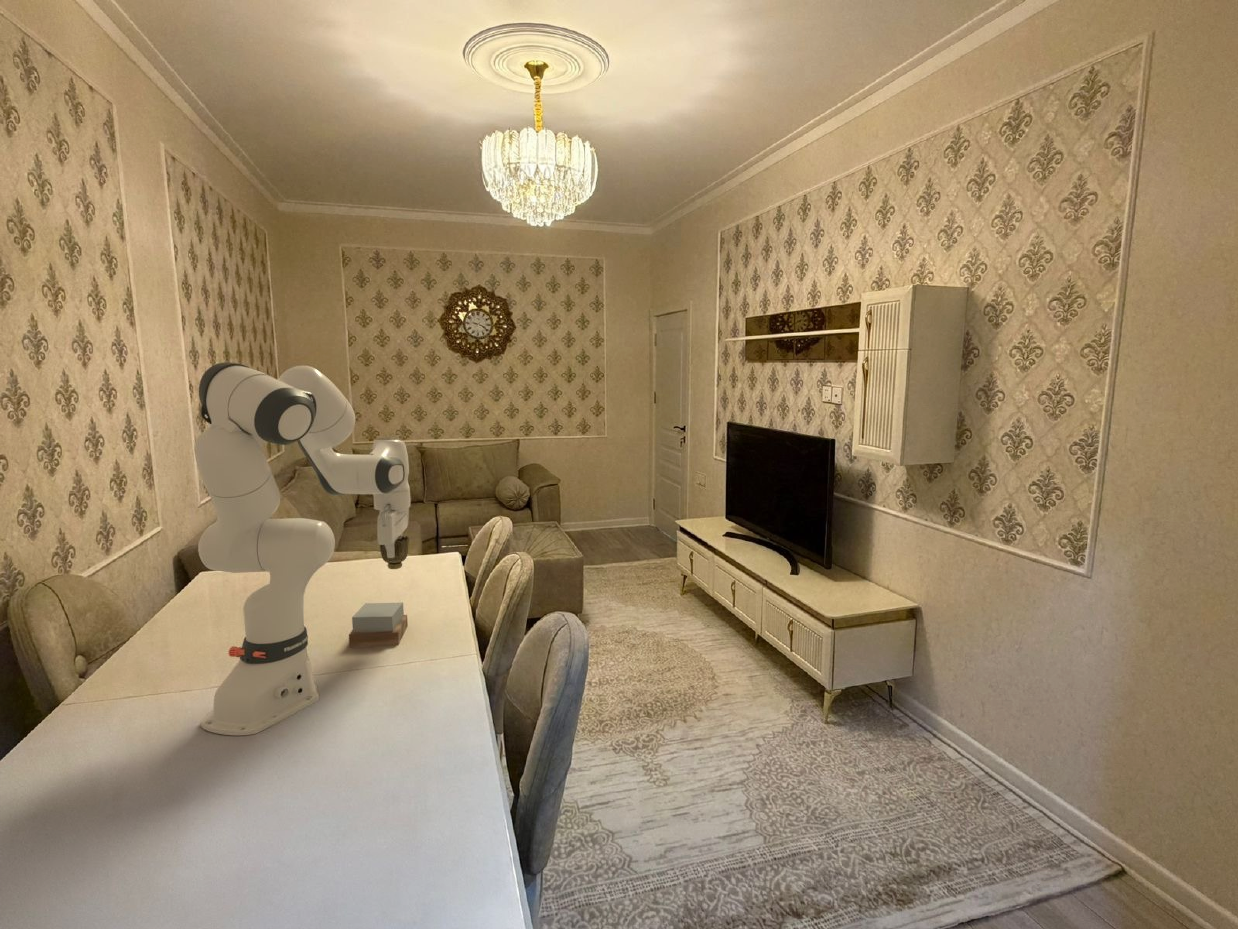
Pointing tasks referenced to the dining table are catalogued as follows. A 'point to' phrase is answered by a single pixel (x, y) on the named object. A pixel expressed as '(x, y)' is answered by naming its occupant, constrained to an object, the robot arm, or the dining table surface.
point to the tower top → (378, 617)
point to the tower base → (378, 636)
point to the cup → (400, 552)
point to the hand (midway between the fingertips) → (394, 553)
